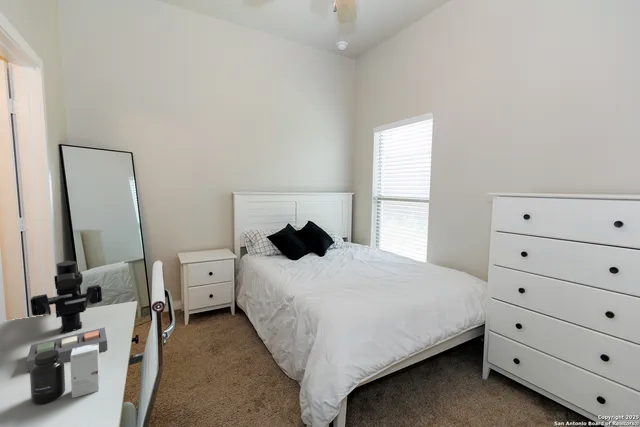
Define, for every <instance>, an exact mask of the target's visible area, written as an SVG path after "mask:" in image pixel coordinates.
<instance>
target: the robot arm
mask: <svg viewBox="0 0 640 427" xmlns="http://www.w3.org/2000/svg"><path fill="white" fill-rule="evenodd" d="M55 266H56V275H54V285H55V290H56V296H50V297H48V294H45V293H43V294H40V295H35V296H32V297H30V309H31V315H32V316H34V317H36V316H47V315H49V316H50V315H51V314H52V310H51V309H52V308H51V307H50V306H51V305H55V306H54V307H55V316H56V319H57V318H60V319H61V321H60V322H61V326H60V331H59V333H60V334H62V333H68V332H72V331H75V330H76V331H77V330H80V329H81V330H82V328H83V321H81V313H84V312H85V311H87V307H89V306H92V305H95V304H98V303H101V302H102V301H103V296H102V294H103V293H102V286H101V285H100V284H95V285H90V286H87V287H86V288H87V289H86V292H85V293H80V290H79V289H80V287H81V285H82V284H83V282H84V280H83V278H84V277H83V274H82V273H81V271H79V270H78V265H77V261H74V260H69V259H68V260H63V261H61V262H58V263H56V265H55Z"/></svg>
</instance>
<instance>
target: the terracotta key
mask: <svg viewBox="0 0 640 427" xmlns="http://www.w3.org/2000/svg"><path fill="white" fill-rule="evenodd" d="M84 336H85V342H86V341H90V340H93V339H97V338H99V331H94V332H90V333H86V334H84Z"/></svg>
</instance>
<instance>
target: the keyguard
mask: <svg viewBox="0 0 640 427" xmlns="http://www.w3.org/2000/svg"><path fill="white" fill-rule="evenodd" d="M94 331H99V338H97V339H93V340H90V341H86V342H85V336H84V334H86V333H90V332H94ZM74 336H77V341H78V344H74V345H70V346H66V347H62V339H65V338H69V337H74ZM53 341H54V345H55V349H54V350H57V351H58V352H59V359H61V360H62V361H63V362H64V363H65V362H68V361H70V355H71V352H72V349H73V348H78V347H82V346H86V345H92V344H97V343H98V344H99V353H101V352H105V351H108V349H109V348H108V339H107V333H106V328H105V327H100V328H96V329H92V330H88V331H84V332H80V333H75V334H72V335H71V334H70V335H65V336H63V337H58V338H53V339H49V340H45V341H42V342H37V343H33V344H31V345H30V347H29V352H28V355H27V358H26V361H25V362H26V372H27V373H30V371H31V369H32V368H33V367H34V366H35V365H34V362H35V357H36V356H37V355H38V354H40V353H38V354H37V347H38V345H40V344H44V343H49V342H53ZM70 362H71V361H70Z"/></svg>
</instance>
